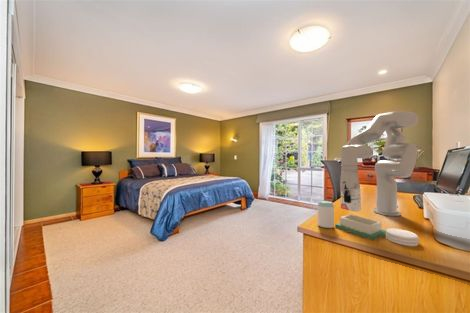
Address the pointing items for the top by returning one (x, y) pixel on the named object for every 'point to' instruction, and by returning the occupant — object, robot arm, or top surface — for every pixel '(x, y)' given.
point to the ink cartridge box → (352, 199)
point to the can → (325, 214)
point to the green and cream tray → (361, 226)
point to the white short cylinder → (402, 237)
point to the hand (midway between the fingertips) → (350, 201)
